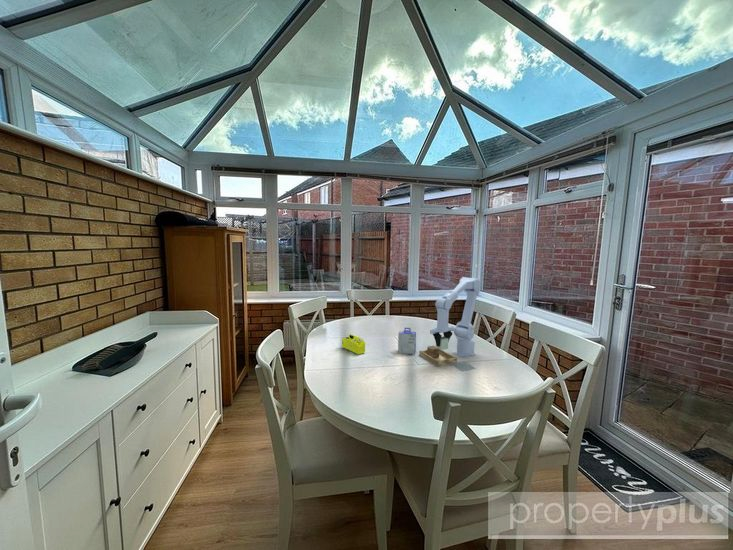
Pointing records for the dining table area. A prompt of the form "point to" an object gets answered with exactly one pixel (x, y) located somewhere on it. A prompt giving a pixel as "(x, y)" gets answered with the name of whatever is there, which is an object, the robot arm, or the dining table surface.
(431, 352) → the walnut block
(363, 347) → the yellow toy chassis
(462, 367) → the rubber pad
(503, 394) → the dining table surface
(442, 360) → the oak tray
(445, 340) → the sage block
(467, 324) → the robot arm
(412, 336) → the ink cartridge box
